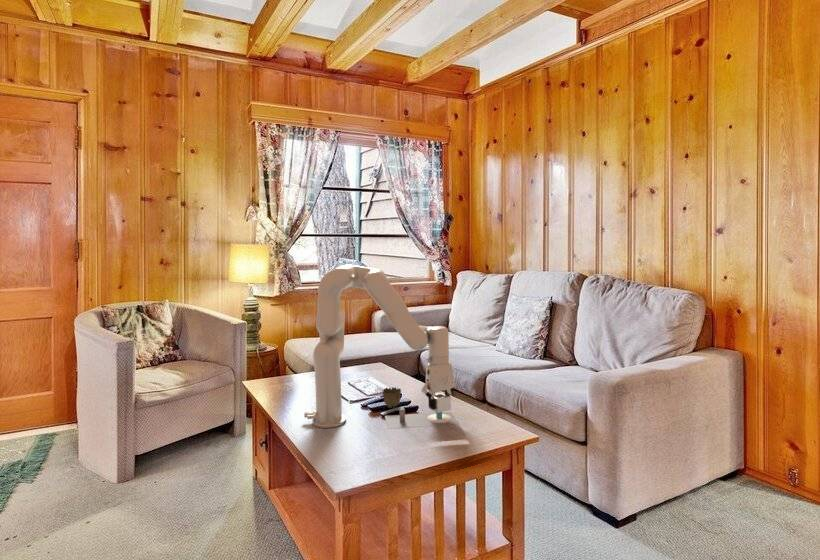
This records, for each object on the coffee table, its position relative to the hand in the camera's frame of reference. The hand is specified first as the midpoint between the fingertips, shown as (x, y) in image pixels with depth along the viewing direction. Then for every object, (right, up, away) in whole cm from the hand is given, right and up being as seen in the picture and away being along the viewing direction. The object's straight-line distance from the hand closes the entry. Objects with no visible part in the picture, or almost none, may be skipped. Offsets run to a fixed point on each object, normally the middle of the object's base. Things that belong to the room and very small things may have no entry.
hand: (439, 406), depth 191 cm
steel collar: (0, -1, 0) cm, 1 cm away
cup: (-18, -5, +15) cm, 24 cm away
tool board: (-7, -6, 0) cm, 9 cm away
